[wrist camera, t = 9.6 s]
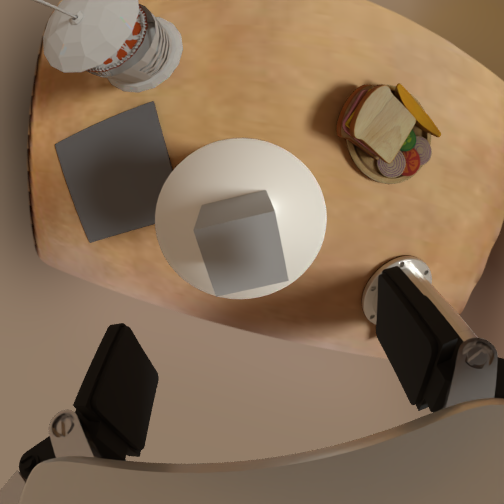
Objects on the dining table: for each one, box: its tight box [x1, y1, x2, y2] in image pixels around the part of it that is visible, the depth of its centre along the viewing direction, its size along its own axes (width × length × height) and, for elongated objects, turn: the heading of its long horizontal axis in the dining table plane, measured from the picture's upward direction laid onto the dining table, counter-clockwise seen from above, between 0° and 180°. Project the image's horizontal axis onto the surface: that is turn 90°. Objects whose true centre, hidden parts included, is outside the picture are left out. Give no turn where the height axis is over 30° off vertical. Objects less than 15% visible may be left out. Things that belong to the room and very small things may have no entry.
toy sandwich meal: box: [336, 84, 441, 184], centre depth 29 cm, size 12×14×5 cm
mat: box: [55, 101, 173, 243], centre depth 31 cm, size 14×14×1 cm
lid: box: [155, 138, 327, 299], centre depth 17 cm, size 11×11×5 cm
